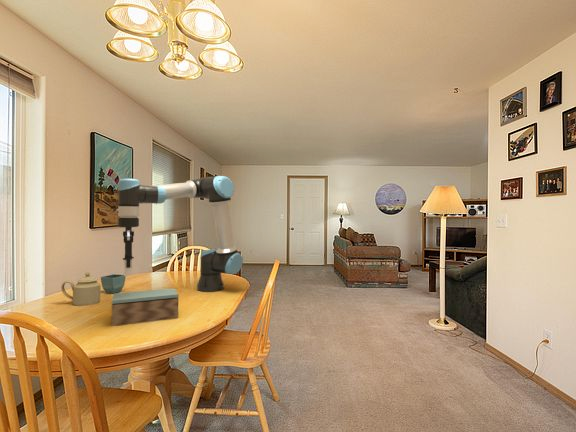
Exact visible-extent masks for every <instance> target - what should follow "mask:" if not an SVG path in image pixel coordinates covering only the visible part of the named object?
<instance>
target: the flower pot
mask: <svg viewBox="0 0 576 432" xmlns="http://www.w3.org/2000/svg"><path fill="white" fill-rule="evenodd" d="M126 277H127V276H125V274H108V275H104V276H100V284H101V288H102V290H103V291H104V293H106V294H113V295H114V293H121V292H122V290H123V288H124V287H125V282H126Z"/></svg>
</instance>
